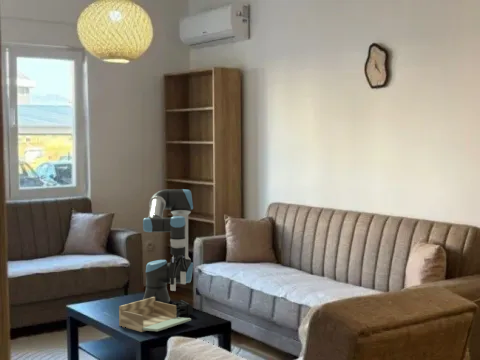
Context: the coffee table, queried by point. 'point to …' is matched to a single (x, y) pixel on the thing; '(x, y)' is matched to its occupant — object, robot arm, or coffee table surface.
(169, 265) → the robot arm
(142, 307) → the wooden tray box
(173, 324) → the panel
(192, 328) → the coffee table surface
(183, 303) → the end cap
